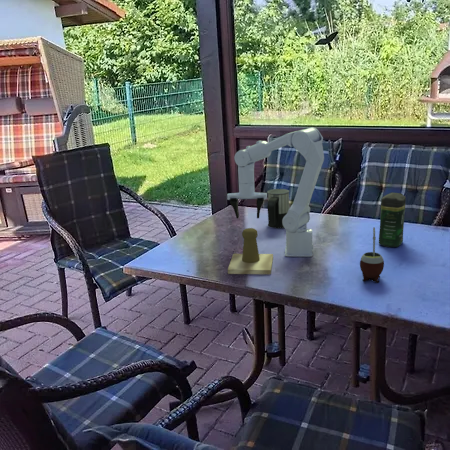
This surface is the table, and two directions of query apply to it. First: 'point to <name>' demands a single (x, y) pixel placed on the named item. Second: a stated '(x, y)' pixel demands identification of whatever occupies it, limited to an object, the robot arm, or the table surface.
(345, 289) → the table surface
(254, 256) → the cork
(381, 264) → the mate gourd
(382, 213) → the coffee jar
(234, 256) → the birch base board
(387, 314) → the table surface
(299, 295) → the table surface
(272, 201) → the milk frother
